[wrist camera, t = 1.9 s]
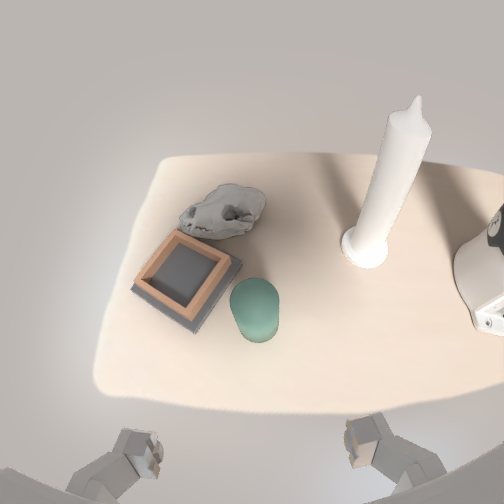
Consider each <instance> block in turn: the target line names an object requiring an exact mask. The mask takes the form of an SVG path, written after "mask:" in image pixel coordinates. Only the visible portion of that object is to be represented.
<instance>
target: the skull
mask: <svg viewBox="0 0 504 504" xmlns="http://www.w3.org/2000/svg"><path fill="white" fill-rule="evenodd" d="M265 205H266V199H265V196H264V194H263V193H262V192H261V191H259V190H257V189H255V188H251V187H241V186H238V185H235V184H225V185H220V186H219V187H218V189H217V190H214V191H213V192H211V193H210V194H209V195H207V197H206V199H205V200H204V201H203V202H201V203H197V204H195V205H192V206H190V207H189V208H188V209H187V210H186V211H185V212H184V213H183V214H182V215H181V216H180V217H179V218H180V219H179V220H180V226H181V229H182V231H183V232H184V233H186V234H189V235H191V236H194V237H198V238H204V239H212V240H220V239H226V238H229V237H231V236H235V235H243V234H245V231H250V230H251V229H252V228H253V224H254V222H255V221H256V220H258V219H259V217H260V214H261V211H262V209H263V208H264V206H265ZM237 216H239V217H240V218H238V219H237V220H235V219H234V218H235V217H237ZM227 219H233V220H230V221H226V220H227ZM200 228H206V230H205V229H202V230H201V229H200Z"/></svg>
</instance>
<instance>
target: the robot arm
mask: <svg viewBox="0 0 504 504" xmlns="http://www.w3.org/2000/svg"><path fill="white" fill-rule="evenodd" d="M454 276H455V281H456V284H457V287H458V290H459V292H460V294H461V296H462V298H463V300H464V301H465V303H466V305H467V306H468V308H469V310H470V312H471V316H472V320H473V323H474V326H475V328H476V329H477V330H478V331H481V332H485V333H489V334H494V335H498V336H502V337H504V204H503V205H502V206H501V208H500V209H499V210H498V212H497V213H496V214H495V216H494V217H493V219H492V220H491V222H490V223H489V225H488V227H487V228H486V229H485V230H484V231H482V232H481V233H480V234H479V235H478V236H476V237H475V238H474V239H472V240H470V241H468V242H466V243H464V244H463V245H462V246H461V247H460V248H459V249H458V251H457V253H456V255H455V259H454ZM486 323H487V325H486ZM346 427H347V430H346V431H345V433H344V443H345V447H346V450H347V451H348V452H350V455H349V459H350V462H351V465H352V468H353V469H354V468H358V467H363V466H367V465H371V464H372V466H373V467H374V468H376V469H377V470H378V471H380V472H381V473H383V474H384V475H385V476H387V477H388V478H389V479H391V480H392V481H393V482H395V483H396V484H397V486H396V488H395V489H394V491H393V493H392V494H391V496H389V497H385V498H382V499H379V500H375V501H372V502H368V503H364V504H504V442H502V443H500V444H499V445H497V446H496V447H494V448H492V449H491V450H489V451H487V452H486V453H484V454H482V455H481V456H479V457H477V458H475V459H474V460H472V461H470V462H468V463H466V464H464V465H462V466H461V467H459V468H457V469H455V470H453V471H450V472H449V473H447V471H446V470H445V468H444V466H443V464H442V463H441V461H440V459H439V458H438V456H437V454H435V453H433V452H430V451H428V450H426V449H424V448H422V447H420V446H418V445H416V444H414V443H412V442H410V441H408V440H406V439H404V438H402V437H400V436H397V435H396V436H394V435H393V433H392V431H391V429H390V427H389V425H388V424H387V422H386V420H385V418H384V416H383V414H382V413H381V412H377V413H373V414H369V415H364V416H360V417H356V418H352V419H347V421H346ZM157 438H158V436H157V434H156V432H152V431H144V430H136V429H127V428H123V429H122V430H121V432H120V434H119V437H118V439H117V441H116V443H115V446H114V448H113V450H112V452H108V453H106V454H105V455H103V456H101V457H100V458H98V459H97V460H95V461H94V462H92V463H90V464H89V465H87V466H85V467H84V468H82V469H80V470H79V471H77V472H75V473H74V474H73V476H72V478H71V480H70V482H69V484H68V486H67V489H66V491H63V490H61V489H58V488H55V487H53V486H50V485H48V484H46V483H43V482H41V481H38V480H36V479H34V478H32V477H30V476H27V475H25V474H24V473H21V472H20V471H18V470H16V469H13V468H10V467H7V468H3V469H0V504H120V503H119V502H118V501H117V500H116V499H117V498H119V497H120V496H121V495H122V494H123V493H124V492H125V491H127V490H128V489H129V488H130V487H131V486H132V485H133V484H134V483H135V482H136V481H138V479H140V477H141V478H150V479H157V478H158V475H159V471H160V467H159V465H158V464H159V463H160V462H162V460H163V447H162V444H161V443H160V442H159V441H158V440H157Z"/></svg>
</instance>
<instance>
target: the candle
mask: <svg viewBox="0 0 504 504" xmlns="http://www.w3.org/2000/svg"><path fill="white" fill-rule="evenodd" d="M421 103H422V97H421V95H418V94H417V95H416V97H415V99H414V100H413V102H412V103H411V105H410V106H409V107H408V108H407V109H406V110H401V111H395V112H393V113H391V114H390V115H389V117H388V121H387V125H386V129H385V133H384V137H383V140H382V144H381V148H380V152H379V155H378V158H377V162H376V165H375V169H374V172H373V175H372V179H371V182H370V185H369V188H368V191H367V195H366V198H365V201H364V204H363V207H362V210H361V213H360V216H359V219H358V222H357V225H356V226H353V227H351V228H350V229H348V230H347V231H346V232H345V234H344V235H343V238H342V242H341V246H342V251H343V253H344V255H345V257H346V258H347V259H348V260H349V261H350V262H351V263H352V264H354V265H356V266H358V267H361V268H374V267H377V266H379V265H380V264H381V263H382V262H383V261H384V260H385V258H386V256H387V252H388V246H387V242H386V240H385V239H386V238H387V236H388V234H389V232H390V230H391V228H392V226H393V224H394V222H395V220H396V217H397V215H398V213H399V211H400V209H401V207H402V205H403V203H404V201H405V198H406V196H407V194H408V192H409V190H410V187H411V185H412V183H413V181H414V178H415V176H416V174H417V171H418V169H419V167H420V164H421V162H422V159H423V157H424V154H425V152H426V149H427V147H428V144H429V142H430V139H431V136H432V130H431V128H430V126H429V125H428V124H427V122H426V121H425V120H424V118H423V117H422V113H421Z"/></svg>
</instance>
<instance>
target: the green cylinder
mask: <svg viewBox="0 0 504 504" xmlns="http://www.w3.org/2000/svg"><path fill="white" fill-rule="evenodd" d="M230 307H231V310H232V313H233V315H234V318H235V320H236V322H237V325H238V327H239V329H240V332H241V334H242V335H243V336H244V337H245V338H246V339H247V340H249V341H251V342H255V343H262V342H265V341H268V340H270V339H271V338H272V337H273V336H274V335H275V334H276V332H277V330H278V325H279V296H278V292H277V290H276V289H275V287H274V286H273V285H272V284H271V283H269V282H268V281H266V280H263V279H259V278H251V279H247V280H244V281H242V282H241V283H239V284H238V285H237V286H236V287H235V288H234V289H233V291H232V293H231V296H230Z"/></svg>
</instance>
